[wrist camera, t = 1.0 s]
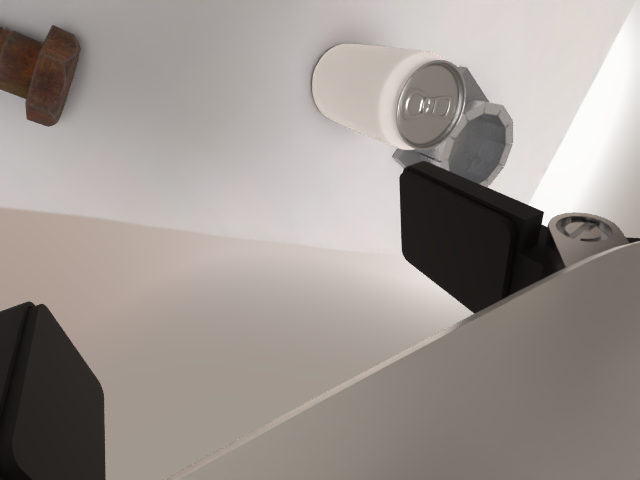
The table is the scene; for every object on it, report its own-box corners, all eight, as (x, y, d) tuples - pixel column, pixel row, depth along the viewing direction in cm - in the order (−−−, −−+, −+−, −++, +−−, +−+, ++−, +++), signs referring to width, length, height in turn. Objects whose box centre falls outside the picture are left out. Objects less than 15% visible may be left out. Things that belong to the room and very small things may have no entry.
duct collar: (459, 66, 40) (490, 70, 37) (502, 130, 46) (531, 138, 43) (392, 156, 41) (416, 167, 38) (443, 206, 48) (467, 219, 45)
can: (314, 37, 32) (404, 45, 23) (379, 48, 35) (483, 58, 26) (305, 119, 35) (382, 156, 25) (366, 122, 38) (455, 157, 28)
